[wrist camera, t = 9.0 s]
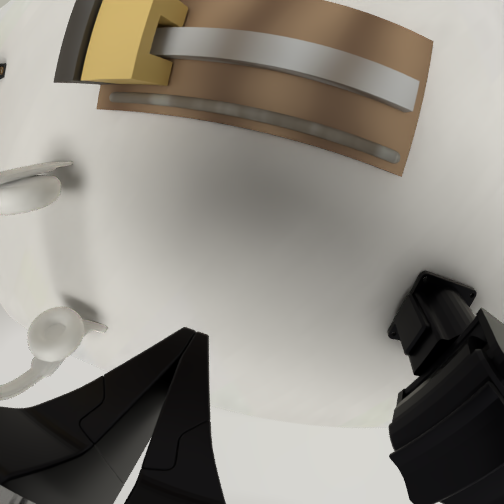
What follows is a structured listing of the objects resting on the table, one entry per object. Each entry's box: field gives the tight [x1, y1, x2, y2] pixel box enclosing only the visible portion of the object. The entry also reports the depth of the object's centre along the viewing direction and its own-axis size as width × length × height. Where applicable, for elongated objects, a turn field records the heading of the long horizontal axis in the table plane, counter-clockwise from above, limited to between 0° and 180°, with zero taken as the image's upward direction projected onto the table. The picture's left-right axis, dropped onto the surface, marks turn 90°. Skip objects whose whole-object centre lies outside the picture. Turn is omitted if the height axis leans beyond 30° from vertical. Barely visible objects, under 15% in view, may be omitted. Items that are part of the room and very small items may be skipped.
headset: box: [0, 161, 107, 400], centre depth 16 cm, size 20×7×18 cm, turn 172°
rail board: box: [54, 0, 433, 177], centre depth 12 cm, size 22×10×6 cm, turn 77°
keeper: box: [81, 0, 188, 86], centre depth 12 cm, size 4×6×4 cm, turn 167°
